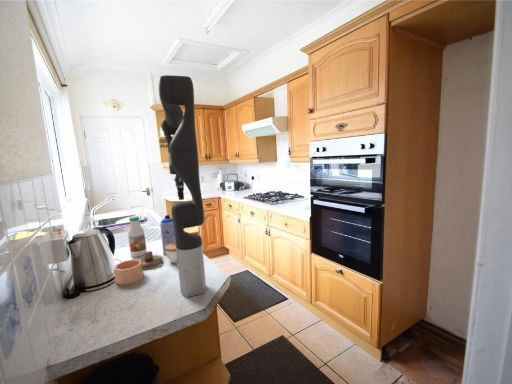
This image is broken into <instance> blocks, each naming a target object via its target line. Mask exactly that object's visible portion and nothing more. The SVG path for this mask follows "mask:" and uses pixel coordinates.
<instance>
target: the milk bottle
mask: <svg viewBox="0 0 512 384" xmlns="http://www.w3.org/2000/svg"><path fill="white" fill-rule="evenodd" d="M128 220H129V227H128V231H127V233H128V234H127V237H128V246H129V254H130V256H131V257H134V258H136V257H141V256H144V253H145V252H148V251H147V244H146V243H147V242H146V236H145V230H144V228H143V226H142V225H141V224H140V216H137V215H136V216H131V217H129V219H128Z"/></svg>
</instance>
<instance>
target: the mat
mask: <svg viewBox="0 0 512 384" xmlns="http://www.w3.org/2000/svg"><path fill="white" fill-rule="evenodd" d="M160 257H162V256H161V255H160ZM162 258H163V257H162ZM162 262H163V261H162ZM162 262H161V263H160V264H158V265H156V266H154V267H150V268H143V271H144V270H149V269H154V268H160V267H162V265H163V263H162Z"/></svg>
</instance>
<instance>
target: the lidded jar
mask: <svg viewBox="0 0 512 384" xmlns="http://www.w3.org/2000/svg"><path fill="white" fill-rule="evenodd" d="M165 251H166V255H167V256H166V258H167V259H168V261H170V262H171V263H172V264H178V262H177V251H176V242H173V243H170V244H168V245H166V246H165Z"/></svg>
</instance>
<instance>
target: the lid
mask: <svg viewBox="0 0 512 384" xmlns="http://www.w3.org/2000/svg"><path fill="white" fill-rule="evenodd" d="M139 260H141V261H142V268H150V267H154V266H156V265H158V264H160V263H161V262H163V257H161V255H160V256H159V255H153V251H147V252H145V253H144V255H143V257H142V258H140V259H139ZM150 269H151V268H150Z"/></svg>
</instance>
